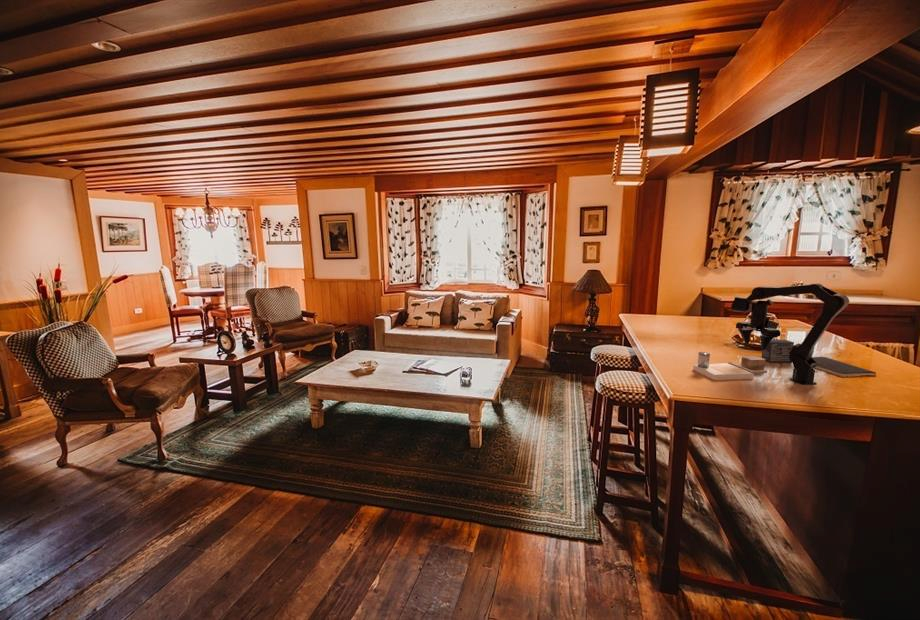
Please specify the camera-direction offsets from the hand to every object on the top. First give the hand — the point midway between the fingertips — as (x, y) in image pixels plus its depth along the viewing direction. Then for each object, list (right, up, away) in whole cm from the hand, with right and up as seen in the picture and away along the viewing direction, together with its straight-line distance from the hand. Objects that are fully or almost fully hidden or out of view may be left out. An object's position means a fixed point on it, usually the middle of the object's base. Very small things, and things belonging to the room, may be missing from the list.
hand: (755, 347), depth 177 cm
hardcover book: (+39, -11, +4) cm, 41 cm away
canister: (-23, -9, +1) cm, 25 cm away
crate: (0, -11, +2) cm, 11 cm away
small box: (+22, -9, +15) cm, 28 cm away
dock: (-17, -12, -2) cm, 21 cm away
